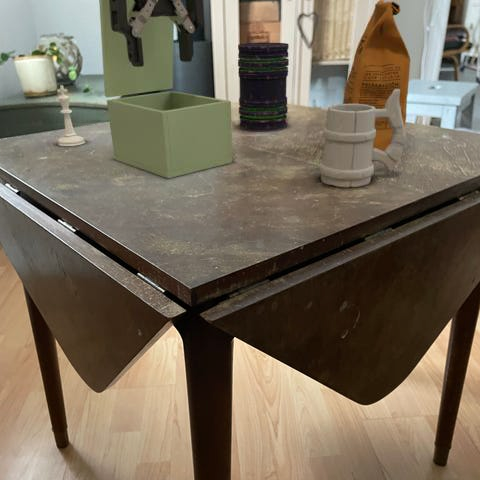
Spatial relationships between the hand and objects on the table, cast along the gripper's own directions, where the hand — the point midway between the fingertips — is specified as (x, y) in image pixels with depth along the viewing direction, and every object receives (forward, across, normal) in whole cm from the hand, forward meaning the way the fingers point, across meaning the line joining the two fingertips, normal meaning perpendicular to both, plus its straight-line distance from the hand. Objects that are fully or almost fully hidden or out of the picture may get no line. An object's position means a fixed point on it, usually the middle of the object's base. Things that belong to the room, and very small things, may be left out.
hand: (162, 63), depth 80 cm
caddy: (+15, -1, -1) cm, 15 cm away
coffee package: (+15, -28, +18) cm, 36 cm away
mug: (+15, -14, +27) cm, 34 cm away
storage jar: (+15, -30, -10) cm, 35 cm away
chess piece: (+15, +5, -25) cm, 30 cm away
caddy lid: (-3, -1, -7) cm, 8 cm away
